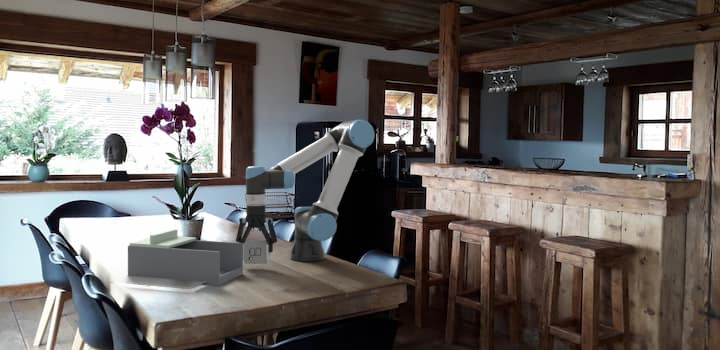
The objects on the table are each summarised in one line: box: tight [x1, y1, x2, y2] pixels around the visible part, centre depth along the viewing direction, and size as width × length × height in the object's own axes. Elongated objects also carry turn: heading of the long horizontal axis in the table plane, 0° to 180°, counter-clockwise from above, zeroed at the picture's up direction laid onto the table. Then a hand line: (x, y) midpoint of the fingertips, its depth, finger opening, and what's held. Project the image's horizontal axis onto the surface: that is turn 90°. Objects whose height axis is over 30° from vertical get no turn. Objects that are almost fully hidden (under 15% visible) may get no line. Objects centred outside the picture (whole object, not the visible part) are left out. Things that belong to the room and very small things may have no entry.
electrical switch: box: [243, 239, 268, 265], centre depth 238 cm, size 9×5×9 cm, turn 89°
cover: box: [129, 229, 197, 249], centre depth 223 cm, size 16×20×4 cm
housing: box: [127, 239, 244, 287], centre depth 221 cm, size 37×20×12 cm, turn 76°
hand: (256, 259), depth 237 cm, fingers closed on electrical switch, 9 cm apart
